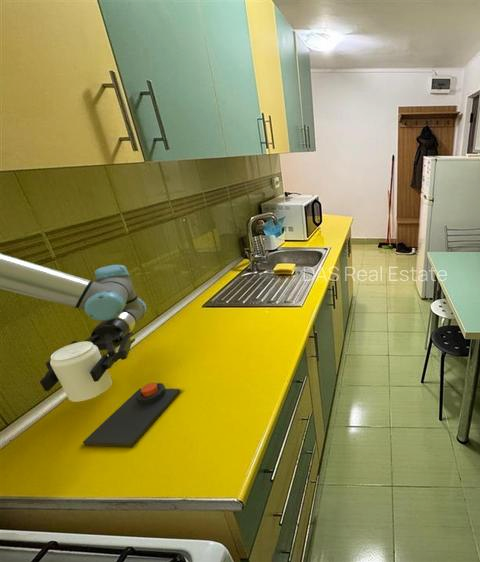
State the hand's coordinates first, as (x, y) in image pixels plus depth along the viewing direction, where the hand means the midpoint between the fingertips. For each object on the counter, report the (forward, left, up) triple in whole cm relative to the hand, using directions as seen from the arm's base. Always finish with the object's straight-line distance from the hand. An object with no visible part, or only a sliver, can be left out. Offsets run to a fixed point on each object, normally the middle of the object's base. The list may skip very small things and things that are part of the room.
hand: (69, 381), depth 67 cm
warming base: (+4, +7, -18) cm, 20 cm away
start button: (+4, +13, -15) cm, 21 cm away
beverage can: (-2, +4, -7) cm, 9 cm away
